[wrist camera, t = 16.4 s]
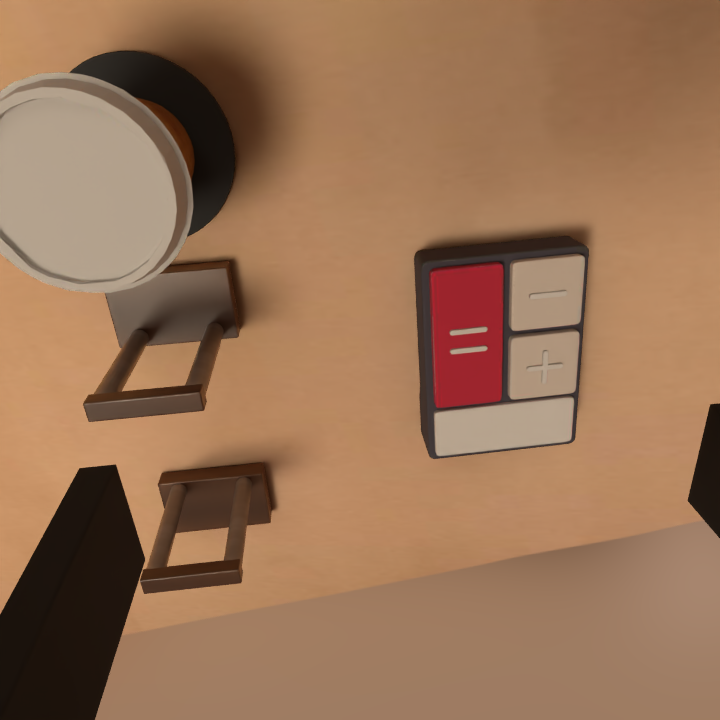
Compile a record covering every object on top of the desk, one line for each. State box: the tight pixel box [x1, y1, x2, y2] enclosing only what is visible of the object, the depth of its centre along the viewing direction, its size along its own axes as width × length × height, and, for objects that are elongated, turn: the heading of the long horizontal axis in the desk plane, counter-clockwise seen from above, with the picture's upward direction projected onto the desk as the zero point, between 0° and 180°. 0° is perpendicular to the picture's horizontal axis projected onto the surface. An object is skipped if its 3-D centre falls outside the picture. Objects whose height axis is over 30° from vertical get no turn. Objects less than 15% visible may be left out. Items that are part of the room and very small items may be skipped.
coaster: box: [70, 51, 235, 236], centre depth 36 cm, size 11×11×1 cm
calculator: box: [414, 236, 589, 459], centre depth 43 cm, size 11×4×15 cm
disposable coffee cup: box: [0, 72, 195, 293], centre depth 31 cm, size 10×10×12 cm
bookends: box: [83, 261, 272, 594], centre depth 40 cm, size 22×8×11 cm, turn 4°
